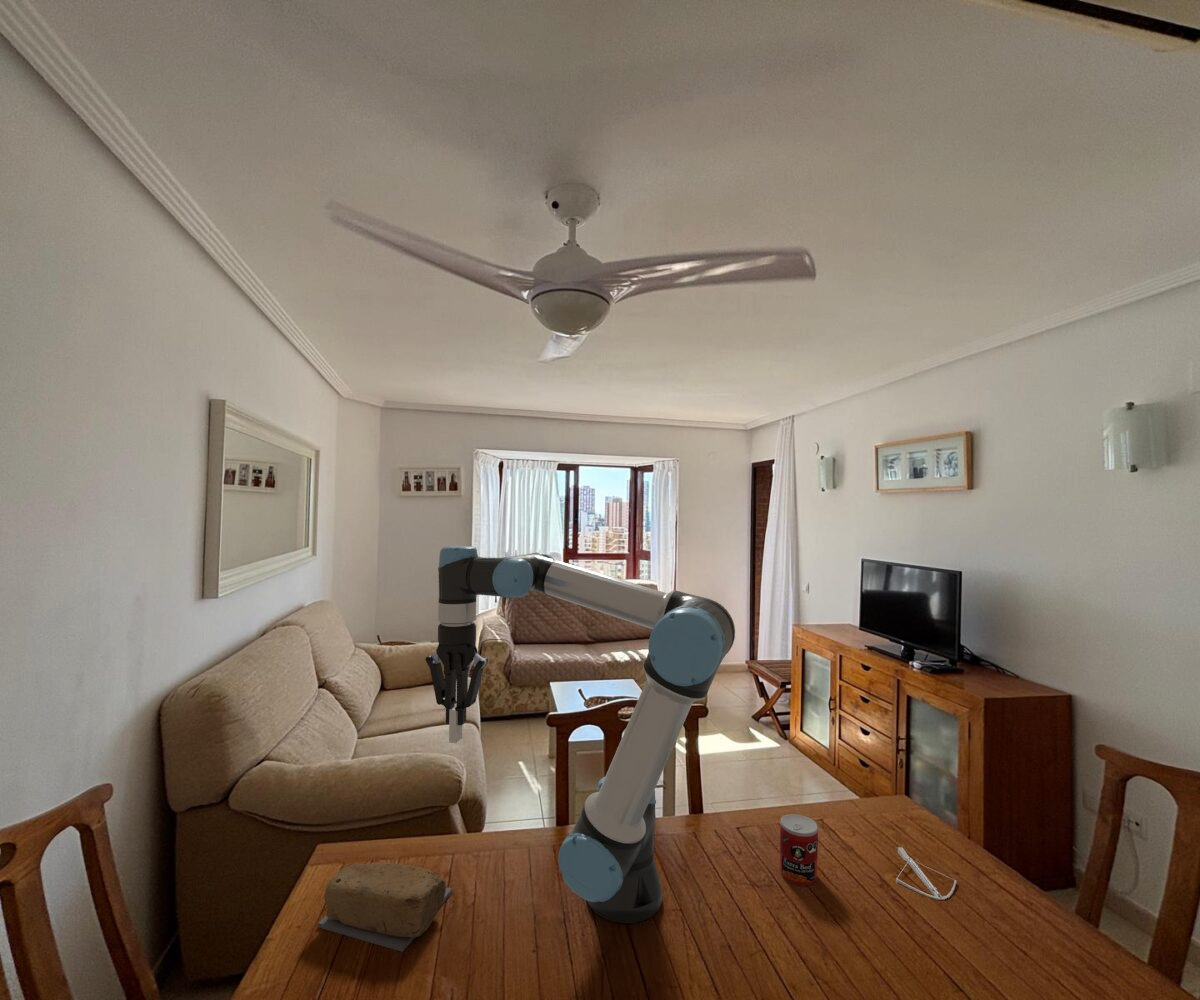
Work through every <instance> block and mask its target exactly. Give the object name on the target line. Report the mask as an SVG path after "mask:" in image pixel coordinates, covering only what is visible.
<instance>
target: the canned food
mask: <svg viewBox="0 0 1200 1000" xmlns="http://www.w3.org/2000/svg"><path fill="white" fill-rule="evenodd" d="M779 825H780V828H779V831H780V832H779V871H780V874H781V876H782V877H783V878H784V879H785V880H786V881H788V882H789V883H792V884H794V885H798V886H811V885H812V884H814V883H815V882H816V879H817V877H818V852H819V851H818V846H819V843H818V842H819V828H818V827H819V826H818V823H817V822H816V821H815V820H814V819H812V818H811V817H808V816H805V815H803V814H800V813H799V814H796V813H788V814H785V815H783V816H781V818H780V824H779Z"/></svg>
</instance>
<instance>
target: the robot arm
mask: <svg viewBox="0 0 1200 1000" xmlns="http://www.w3.org/2000/svg"><path fill="white" fill-rule="evenodd" d="M437 570H438V602H437V603H438V604H437V605H438V606H437V607H438V608H437V611H438V612H437V622H438V623H439V624H438V626H437V642H438V645H437V647H436V651H435V652H434V653H432V654H430V655H428V656H426V657H425V662H426V663H427V665H428V668H429V670H430V675H431V676H430V677H431V682H432V686H433V692H434V695H435V700H436V704H437V705H442V706H443V707H444V708H445V723H446V724H445V725H448V726H449V727H448V732H449V733H448V743H451V744H457V743H458V742H459V741H461V739H462V738H463V726H464V724H466V722H467V708H470V707H471V706H473V705H474V704H475V703H476V701H477V697H478V692H479V689H480V685H481V680H482V678H483V677H482V676H483V672H484V669H485V667H486V666H487V664H488V662H489V659H488V658H487V657H482V656H481V655H480V654H479V653H478V648H477V645H476V643H477V642H476V641H477V624H476V623H475V621H476V620H477V596H488V597H489V596H491V597H501V598H502V597H503V598H504V599H510V598H523V597H525V596H527V594H528V593H529V591H534V592H536V593H537V592H538V593H541V594H543V595H546V596H547V595H548V596H550V597H553V598H556V599H560V600H563V601H566V602H569V603H572V604H574V605H577V606H581V607H584V608H586V609H587V608H588V609H590V610H593V611H596V612H598V613H599V612H600V613H601V614H605V615H608V616H611V617H614V618H617V619H619V620H620V619H621V620H623V621H627V622H630V623H633V624H636V625H639V626H642V627H644V628H648V629H650V630H651V633H650V635H649V639H648V654H647V655H646V658H645V661H644V663H643V665H642V670H643V672H644V675H645V677H646V681H645V683H644V685H643V687H642V689H641V693H640V695H639V697H638V699H637V702H636V705H635V706H634V709H633V712H632V714H631V716H630V718H629V720H628V723H627V725H626V728H625V730H624V732H623V735H622V736H621V740H620V742H619V744H618V746H617V748H616V751H615V754H614V756H613V758H612V761H611V762H610V765H609V767H608V770H607V772H606V774H605V776H603V777H602V778H600V779H599V781H598V784H597V788H596V792H593V793H591V794H589V795H588V797H587V798H586V800H585V801H584V804H583V806H582V808H581V812H580V813H579V816H578V817H577V821H576V823H575V825H574V827H573V829H572V831H571V832H570V834H569V835H567V836H566V837H565V838H564V839H563V841H562V845H561V846H560V847H559V851H558V856H557V857H558V858H557V860H558V867H559V871H560V872H561V874H562V878H563V881H564V882H565V884H566V886H567V887H568V888H569V889H570V890H571V891H572V892H573V893H574V894H576V895H577V896H578V897H580V898H581V899H583V900H586V901H587V904H588V906H589V908H591V910H592V911H593V912H594V913H595V914H596V915H598V916H600V917H601V918H603V919H605V920H608V921H611V922H614V923H620V924H635V923H639V922H640V923H641V922H643V921H645V920H648V919H649V918H651V917H653V916H654V915H656V913H658V912H659V909H660V908H661V906H662V900H663V898H662V896H663V888H662V883H661V879H660V875H659V872H658V869H657V865H656V861H655V831H656V804H657V800H656V787H657V785H658V783H659V781H660V778H661V776H662V773H663V772H664V770H665V767H666V764H667V762H668V760H669V758H670V755H671V753H672V751H673V749H674V746H675V744H676V741H677V739H678V737H679V735H680V734H681V733H680V732H681V730H682V728H683V726H684V724H685V721H686V719H687V718H688V717H687V716H688V715H689V712H690V709H691V708H692V705H693V703H695V702H697V701H699V702H700V701H701V700H705V698H706V697H707V695H708V692H709V690H710V688H711V685H712V683H713V681H714V679H715V677H716V675H717V673H718V670H719V668H720V665H721V664H722V661H724V660H723V659H725V657H726V656H727V654H729V652H730V650H731V649H732V647H733V645H734V642H735V639H736V628H735V627H736V626H735V623H734V620H733V618H732V616H731V614H730V613H729V610H727V608H725V607H724V606H723V605H722V604H721V603H719V602H718V601H716V600H714V599H710V598H706V597H702V596H699V595H695V594H691V593H687V592H686V593H685V592H682V591H679V590H676V589H673V590H672V591H670V592H669V591H668V592H665V591H660V590H657V589H654V588H651V587H647V586H645V585H640V584H637V583H635V582H630V581H627V580H625V579H624V580H623V579H620V578H617V577H613V576H611V575H606V574H605V573H604V574H603V573H600V572H598V571H594V570H590V569H586V568H584V567H580V566H576V565H573V564H570V563H566V562H563V561H559V560H555V559H554V558H553V556H551V555H550V554H548V553H543V552H531V553H528V554H527V553H526V554H521V555H514V556H513V555H512V556H505V557H482V556H479V555H478V549H477V547H475V546H469V545H451V546H444V547H442V548H441V549H440V551H439V558H438V568H437ZM472 662H473V669H472V672H471V675H470V681H469V679H468V678H469V671H470V666H471V663H472ZM442 665H443V667H442ZM468 683H469V684H468Z"/></svg>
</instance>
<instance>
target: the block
mask: <svg viewBox="0 0 1200 1000" xmlns="http://www.w3.org/2000/svg"><path fill="white" fill-rule="evenodd" d="M446 886H447V885H446V880H445V879H444V878H443V877H441V876H440V875H439V874H438V873H437V872H436V871H434V870H432V869H428V868H424V867H419V866H414V865H409V864H402V863H394V862H373V863H366V864H363V863H362V864H360V863H351V864H347V865H346V866H344V867H343V868H342V869H340V870H339V871H338V872H337V873H336V874H335V875H334V876H333V877H332V878H331V879H329V881H328V883H327V885H326V887H325V890H324V904H325V906H326V907H327V909H326V915H327V917H328V918H329V919H332V920H340V922H342V923H343V924H346V925H349V926H353V927H356V928H360V929H364V930H369V931H376V932H378V933H381V934H387V935H393V936H398V937H410V938H414V939H415V938H417V937H421V936H422V935H423V934H425V932H426V931H427V930H428V928H430V926H431V923H432V922H433V921H434V919H435V918H436V916H437V915H438V911H439V909H440V908H441V907H442V905H443V904H442V902H443V900H444V896H445V891H446ZM441 904H442V905H441ZM440 906H441V907H440ZM439 907H440V908H439Z"/></svg>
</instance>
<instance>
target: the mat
mask: <svg viewBox="0 0 1200 1000" xmlns="http://www.w3.org/2000/svg"><path fill="white" fill-rule="evenodd" d="M452 894H453V888H450V887H446V891H445V896H444V900H443V902H442V904H441V906H440V907H439V909H440V908H441V907H442V906H443V904H444V903H445V902H446V901H447V899H448V898H449V897H450V896H451V895H452ZM317 928H319V929H322V930H326V931H330V932H333V933H336V934H339V935H343V936H346V937H349V938H354V939H357V940H360V941H364V942H367V943H370V944H373V945H374V944H375V945H378V946H380V947H381V946H382V947H384V948H389V949H391V950H395V951H399V952H401V953H403V952H404V951H405V949H407V948H408V946H410V944H411V943H412V942H413V940H414V939H415V938H410V937H398V936H393V935H387V934H381V933H378V932H376V931H369V930H364V929H360V928H356V927H353V926H349V925H346V924H343V923H342V922H340V920H332V919H329V918H328V917H327V914H326V915H325V916H324V917H323V918H322V919H321V920H320V921H319V922H318V924H317Z"/></svg>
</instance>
